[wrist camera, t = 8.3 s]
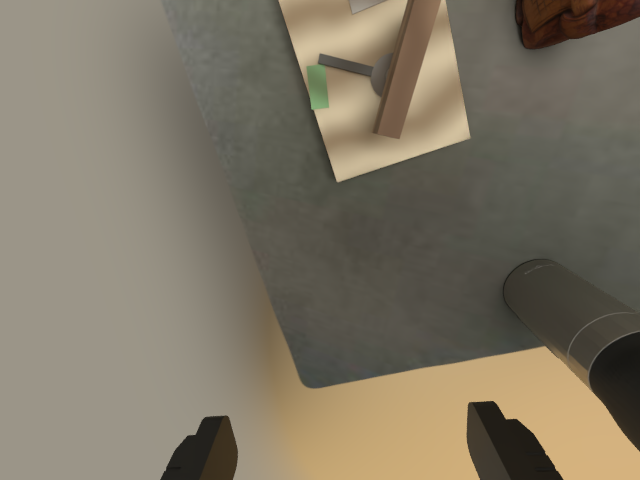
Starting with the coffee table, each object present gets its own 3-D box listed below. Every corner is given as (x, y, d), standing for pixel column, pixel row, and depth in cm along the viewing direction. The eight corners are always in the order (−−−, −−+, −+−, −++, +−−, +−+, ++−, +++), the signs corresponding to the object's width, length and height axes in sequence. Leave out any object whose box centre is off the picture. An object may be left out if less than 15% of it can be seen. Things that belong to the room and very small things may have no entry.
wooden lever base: (454, 136, 41) (471, 138, 37) (335, 177, 44) (335, 183, 39) (415, -65, 35) (428, -97, 30) (276, -5, 37) (267, -25, 32)
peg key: (429, 18, 33) (464, -21, 24) (394, 138, 37) (412, 142, 28) (332, -7, 32) (331, -56, 24) (307, 117, 36) (298, 114, 28)
